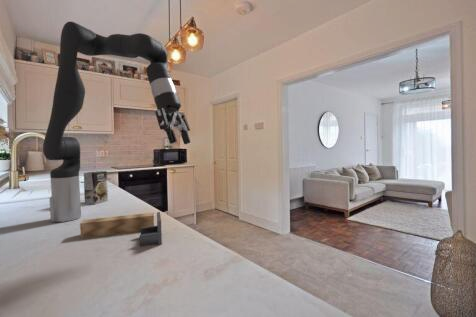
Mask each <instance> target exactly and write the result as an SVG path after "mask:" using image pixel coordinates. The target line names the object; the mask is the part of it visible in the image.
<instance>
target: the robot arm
mask: <svg viewBox="0 0 476 317" xmlns="http://www.w3.org/2000/svg"><path fill="white" fill-rule="evenodd" d="M59 44H60V46H59V60H58V70H57V77H56V82H55V87H54V93H53V98H52V100H53V101H52V108H51V113H50V118H49V121H48V126H47V129H46V133H45V136H44V140H43V144H42V145H43V146H42V153H43V155H44V158H46V159H47V160H48V161H62V164H61V165H59V166H58V167H56V168H53V169H51V171H50V172H49V173H50V174H49V175H50V176H49V177H50V191H51V192H50V193H51V197H49V213H50V214H49V215H50V222H51V223H55V222H56V223H61V222H62V223H65V222H70V221H74V220H77V219H80V218H81V217H82V210H81V209H82V208H81V207H82V206H81V191H80V190H81V188H80V187H81V186H80V170H81V145H80V142H79V141H78V139H77V138H76V137H73V136H64V133H65V130H66V128H67V126H68V125H69V123H70V122H71V121H72V120H73V119H75V117H76V116H77V115H78V114H79V113H80V111H81V110H82V109H83V106H84V102H85V100H84V99H85V96H86V88H85V85H84V82H83V79H82V78H81V75H80V72H79V70H78V69H79V68H78V63H77V62H78V53H79V54H81V55H85V56H89V57H95V56H105V55H108V56H116V57H122V58H129V59H136V58H138V57H139V58H142V59H144V60H147V61H148V62H150V64H149V65H148V66H147V67H146V77H147V79H148V83H149V86H150V90H151V94H152V96H153V101H154V104H155V107H156V110H155V115H156V121H157V123H158V126H159V129H160V130H161V131H162V130H163V131H164V133H166V136H167V140H168V143H169V144H170V145H173V144H175V143H177V142H178V140H177V136H176V133H175V130H178V132H179V133H180V135H181V139H182V141H183V144H184V145H187V144H190V143H191V139H190V136H189V133H188V132H189V131H191V128H190V125H189V123H188V120H187V117H186V114H184V113H182V114H181V113H180V112H179V110H180V109H181V107H182V104H181V102H180V98H179V96H178V92H177V89H176V86H175V84H174V82H173V80H172V77H171V73H170V70H169V61H168V60H169V59H168V53H167V50H166V48H165V46H164V45H163V43H161V42H160V41H159V40H157V39H156V38H154V37H152V36H150V35H148V34H146V33H139V32H137V33H133V34H121V33H115V34H109V35H108V36H103V35H101V34H97V33H96V32H94V31H92V30H91V29H89V28H87V27H85V26H83V25H80V24H79V23H77V22H74V21H67V22H65V23H64V25H63V27H62V29H61V33H60V43H59ZM174 128H175V130H174Z"/></svg>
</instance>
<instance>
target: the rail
mask: <svg viewBox="0 0 476 317" xmlns="http://www.w3.org/2000/svg"><path fill="white" fill-rule="evenodd" d="M154 214H155V213H154V212H146V213H145V212H144V213H138V214H135V213H134V214H127V215H118V216H108V217H100V218H90V219H83V220H82V221H81V222H80V223H79V230H80V231H79V232H80V239H84V238H85V239H86V238H92V237H101V236H109V235H116V234H123V233H124V234H125V233H132V232H139V231H140V232H141V227H149V226H155V215H154Z"/></svg>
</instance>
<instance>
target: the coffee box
mask: <svg viewBox="0 0 476 317" xmlns="http://www.w3.org/2000/svg"><path fill="white" fill-rule="evenodd" d="M83 189H84V191H83V192H84V205H97V204H101V203H104V202H106V201H108V200H109V195H108V172H107V171H105V170H102V171H99V170H98V171H91V172H83Z"/></svg>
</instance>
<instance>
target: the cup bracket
mask: <svg viewBox="0 0 476 317" xmlns="http://www.w3.org/2000/svg"><path fill="white" fill-rule="evenodd" d="M161 216H162V215H161V211H158V212H156V225H154V226H149V227H141V231H140V234H139V247H141V246H142V247H145V246H149V245H156V244H157V245H158V246H160V245H162V244H163V242H162V240H163V239H162V238H163V237H162V236H163V234H162V218H161Z"/></svg>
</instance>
